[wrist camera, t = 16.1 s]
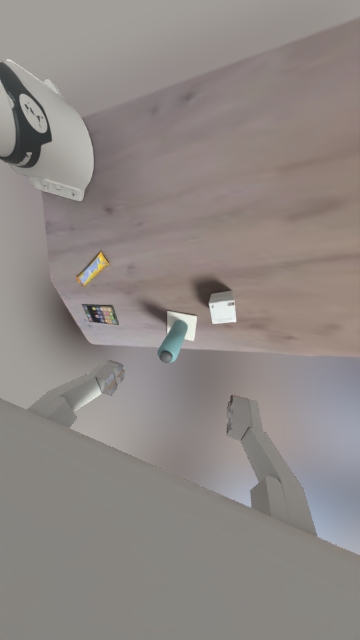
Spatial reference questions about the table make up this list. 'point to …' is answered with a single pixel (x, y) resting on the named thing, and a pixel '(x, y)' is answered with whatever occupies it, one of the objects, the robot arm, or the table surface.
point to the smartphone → (101, 314)
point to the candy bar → (92, 269)
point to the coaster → (186, 318)
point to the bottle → (173, 342)
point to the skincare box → (222, 307)
